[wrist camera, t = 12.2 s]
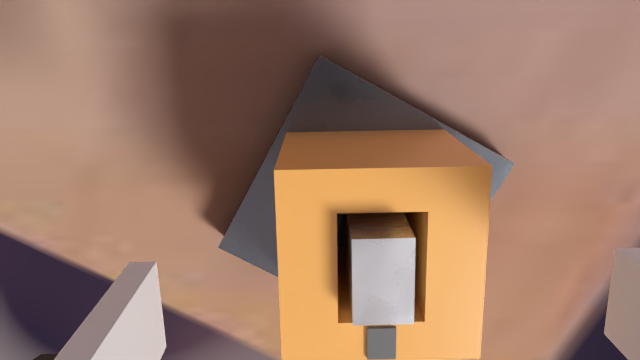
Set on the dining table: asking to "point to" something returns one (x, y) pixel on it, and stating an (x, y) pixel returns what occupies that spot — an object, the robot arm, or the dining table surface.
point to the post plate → (330, 115)
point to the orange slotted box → (381, 197)
